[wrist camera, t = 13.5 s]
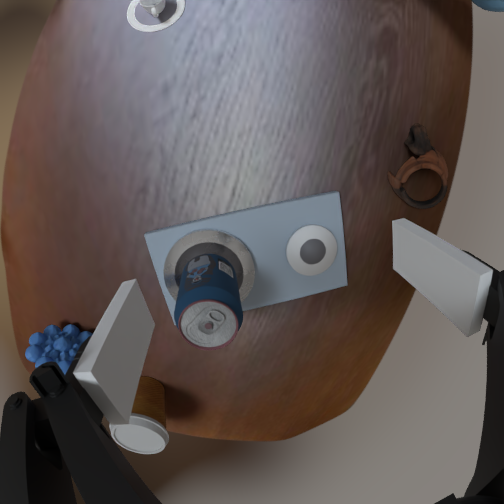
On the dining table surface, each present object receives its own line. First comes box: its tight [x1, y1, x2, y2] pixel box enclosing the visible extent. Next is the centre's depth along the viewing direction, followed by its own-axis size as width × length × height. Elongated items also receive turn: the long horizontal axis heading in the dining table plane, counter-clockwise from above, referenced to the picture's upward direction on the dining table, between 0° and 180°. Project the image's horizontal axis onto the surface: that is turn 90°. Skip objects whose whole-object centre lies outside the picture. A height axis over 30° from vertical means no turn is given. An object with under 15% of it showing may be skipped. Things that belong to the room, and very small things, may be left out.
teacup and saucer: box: [127, 0, 185, 32], centre depth 26 cm, size 9×8×4 cm
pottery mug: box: [388, 124, 448, 209], centre depth 37 cm, size 12×10×8 cm
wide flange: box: [163, 228, 255, 303], centre depth 39 cm, size 12×12×1 cm
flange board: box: [144, 191, 347, 325], centre depth 40 cm, size 26×14×2 cm, turn 101°
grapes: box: [25, 324, 93, 374], centre depth 37 cm, size 12×7×12 cm, turn 71°
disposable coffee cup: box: [110, 376, 169, 454], centre depth 42 cm, size 10×10×12 cm
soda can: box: [174, 254, 243, 350], centre depth 33 cm, size 7×7×12 cm
